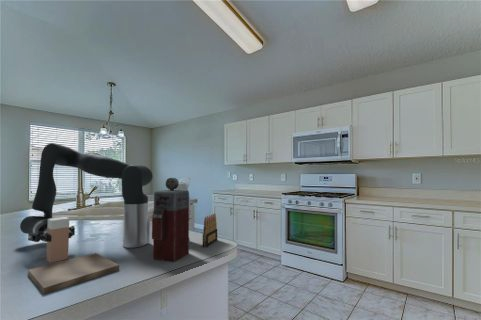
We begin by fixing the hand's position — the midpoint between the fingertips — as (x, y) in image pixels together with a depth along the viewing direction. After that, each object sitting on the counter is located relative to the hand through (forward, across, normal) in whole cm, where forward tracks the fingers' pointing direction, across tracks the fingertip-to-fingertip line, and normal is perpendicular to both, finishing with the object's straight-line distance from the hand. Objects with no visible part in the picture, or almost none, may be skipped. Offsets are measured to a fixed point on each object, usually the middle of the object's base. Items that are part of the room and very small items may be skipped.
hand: (60, 236), depth 80 cm
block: (-3, 0, +8) cm, 8 cm away
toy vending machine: (+27, +25, +8) cm, 38 cm away
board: (+15, 0, +8) cm, 17 cm away
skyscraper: (+15, +39, +9) cm, 43 cm away
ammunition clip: (+27, +45, +8) cm, 53 cm away
